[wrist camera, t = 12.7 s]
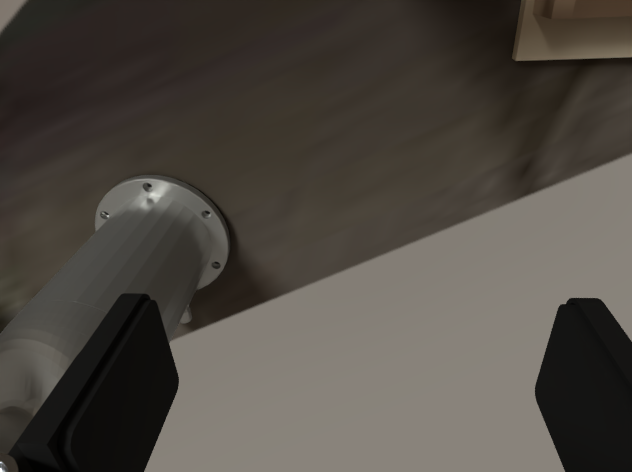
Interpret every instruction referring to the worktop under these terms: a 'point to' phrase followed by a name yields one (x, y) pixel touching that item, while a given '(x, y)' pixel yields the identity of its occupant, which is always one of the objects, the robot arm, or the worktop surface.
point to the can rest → (573, 29)
